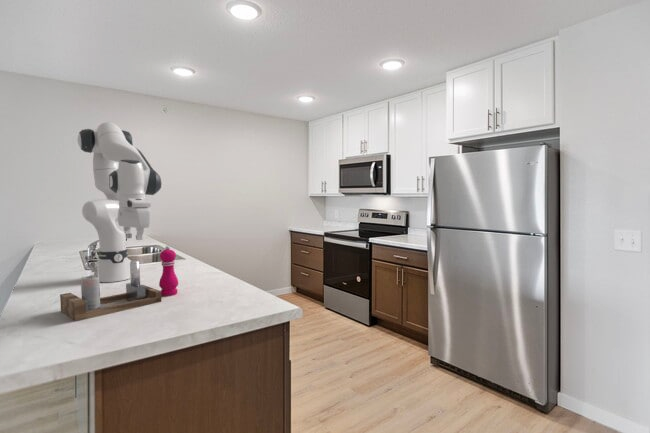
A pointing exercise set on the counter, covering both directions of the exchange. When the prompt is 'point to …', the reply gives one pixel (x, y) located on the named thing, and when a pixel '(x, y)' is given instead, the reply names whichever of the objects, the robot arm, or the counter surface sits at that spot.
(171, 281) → the pepper mill
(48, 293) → the counter surface
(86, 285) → the energy drink
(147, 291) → the press frame
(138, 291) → the press jaw
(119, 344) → the counter surface
